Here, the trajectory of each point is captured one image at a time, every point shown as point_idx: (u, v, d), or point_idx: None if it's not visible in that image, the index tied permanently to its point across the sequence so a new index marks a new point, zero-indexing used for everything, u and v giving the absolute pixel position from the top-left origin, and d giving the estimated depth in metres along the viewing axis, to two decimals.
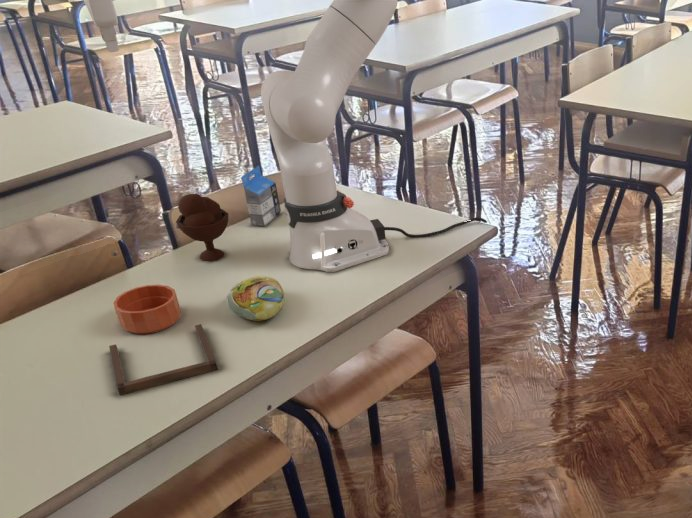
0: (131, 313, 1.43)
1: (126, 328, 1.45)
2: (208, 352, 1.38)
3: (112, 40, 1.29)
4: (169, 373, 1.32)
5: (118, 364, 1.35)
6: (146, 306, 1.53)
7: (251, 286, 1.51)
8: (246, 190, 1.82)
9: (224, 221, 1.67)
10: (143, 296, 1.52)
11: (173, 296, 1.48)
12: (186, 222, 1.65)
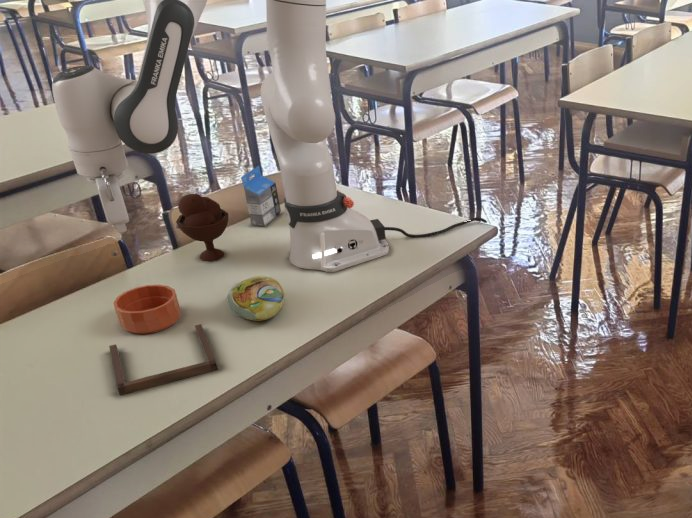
0: (131, 313, 1.43)
1: (126, 328, 1.45)
2: (208, 352, 1.38)
3: (121, 223, 1.47)
4: (169, 373, 1.32)
5: (118, 364, 1.35)
6: (146, 306, 1.53)
7: (251, 286, 1.51)
8: (246, 190, 1.82)
9: (224, 221, 1.67)
10: (143, 296, 1.52)
11: (173, 296, 1.48)
12: (186, 222, 1.65)
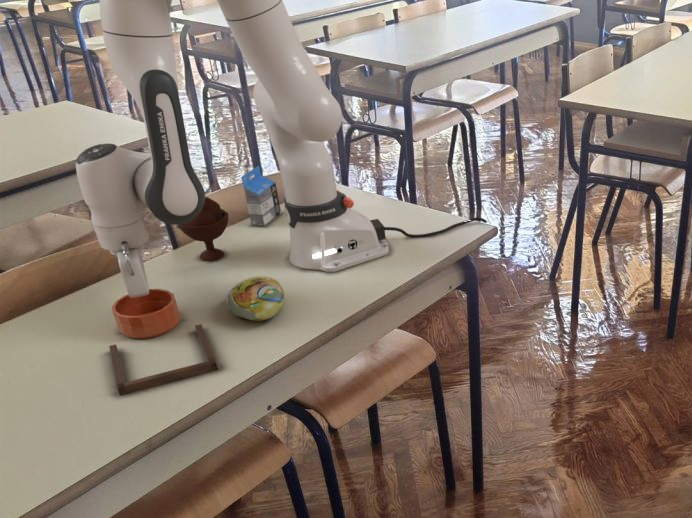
0: (129, 318, 1.41)
1: (124, 332, 1.44)
2: (208, 352, 1.38)
3: None
4: (169, 373, 1.32)
5: (118, 364, 1.35)
6: (145, 310, 1.51)
7: (251, 286, 1.51)
8: (246, 190, 1.82)
9: (224, 221, 1.67)
10: (142, 300, 1.51)
11: (172, 301, 1.46)
12: None
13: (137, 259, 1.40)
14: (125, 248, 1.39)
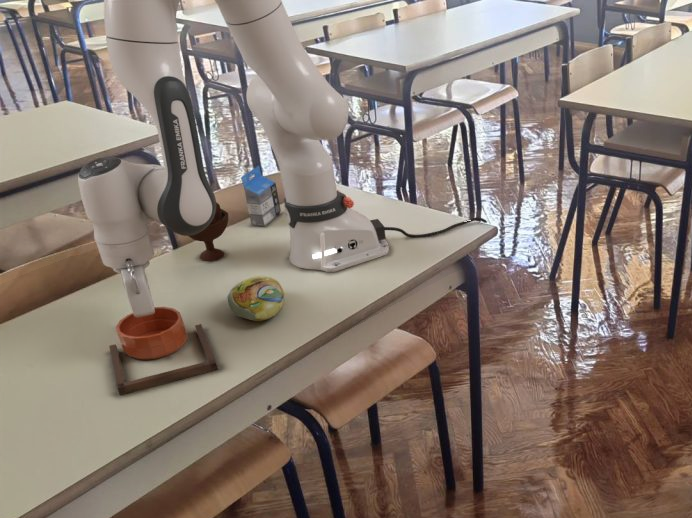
0: (135, 338, 1.35)
1: (129, 354, 1.38)
2: (208, 352, 1.38)
3: None
4: (169, 373, 1.32)
5: (118, 364, 1.35)
6: (150, 329, 1.45)
7: (251, 286, 1.51)
8: (246, 190, 1.82)
9: (224, 221, 1.67)
10: (147, 319, 1.45)
11: (179, 319, 1.40)
12: None
13: (142, 277, 1.34)
14: (130, 266, 1.33)
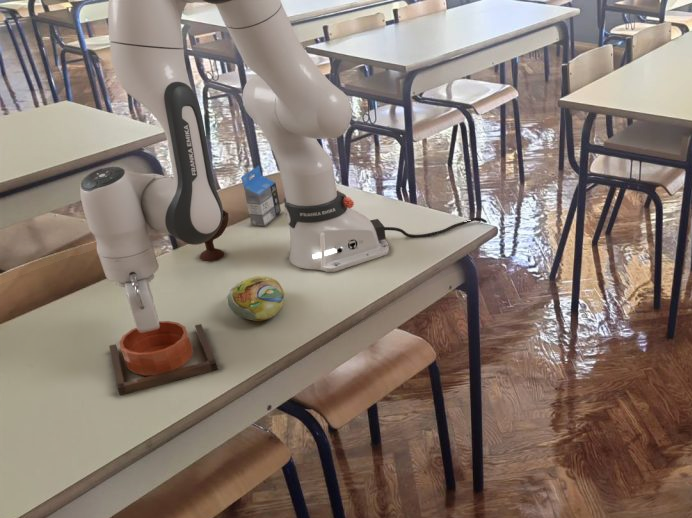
0: (139, 355, 1.31)
1: (133, 370, 1.34)
2: (208, 352, 1.38)
3: None
4: (169, 373, 1.32)
5: (118, 364, 1.35)
6: (154, 344, 1.41)
7: (251, 286, 1.51)
8: (246, 190, 1.82)
9: (224, 221, 1.67)
10: (151, 333, 1.40)
11: (184, 334, 1.36)
12: None
13: (147, 291, 1.29)
14: (134, 280, 1.28)
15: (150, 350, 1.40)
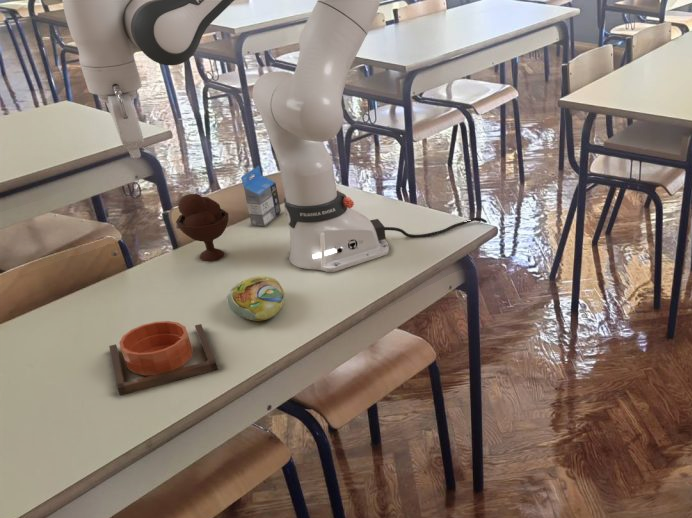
0: (139, 355, 1.31)
1: (133, 370, 1.34)
2: (208, 352, 1.38)
3: (135, 148, 1.41)
4: (169, 373, 1.32)
5: (118, 364, 1.35)
6: (154, 344, 1.41)
7: (251, 286, 1.51)
8: (246, 190, 1.82)
9: (224, 221, 1.67)
10: (151, 334, 1.40)
11: (184, 334, 1.36)
12: (186, 222, 1.65)
13: (130, 101, 1.30)
14: (117, 88, 1.29)
15: (150, 350, 1.40)
